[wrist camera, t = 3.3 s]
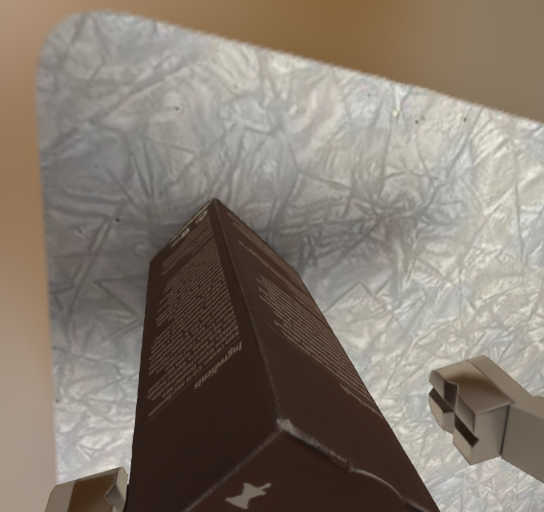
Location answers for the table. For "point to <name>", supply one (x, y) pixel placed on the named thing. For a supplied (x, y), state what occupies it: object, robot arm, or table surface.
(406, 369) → the table surface
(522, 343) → the table surface
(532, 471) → the robot arm
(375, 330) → the table surface
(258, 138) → the table surface
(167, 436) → the box
